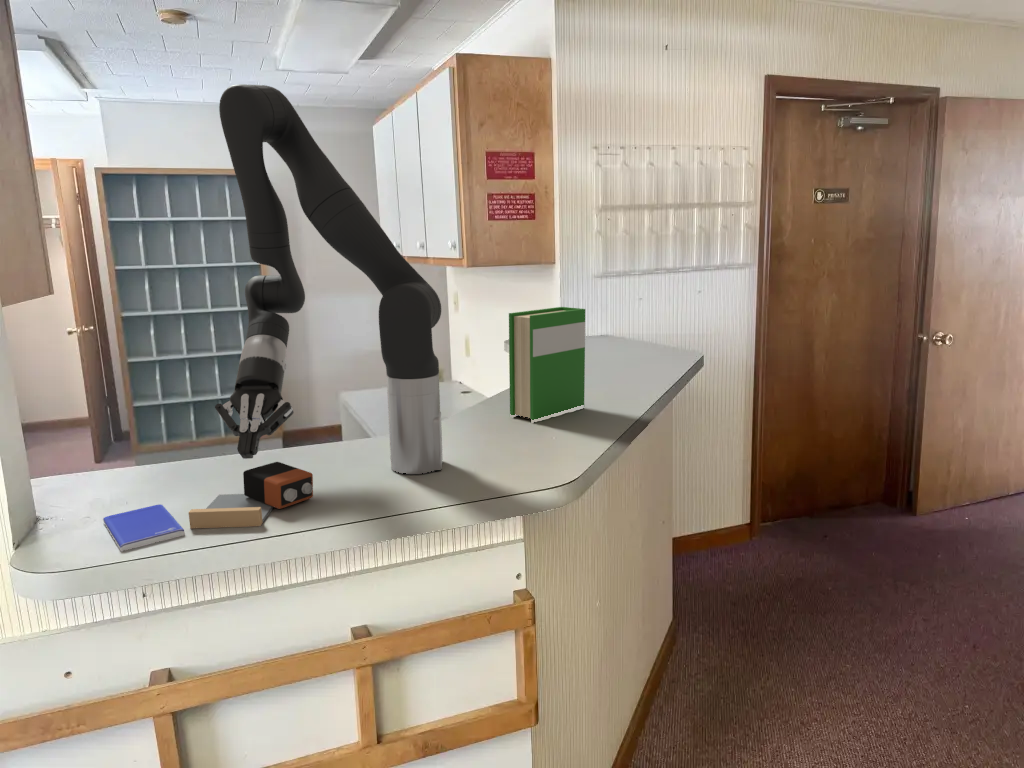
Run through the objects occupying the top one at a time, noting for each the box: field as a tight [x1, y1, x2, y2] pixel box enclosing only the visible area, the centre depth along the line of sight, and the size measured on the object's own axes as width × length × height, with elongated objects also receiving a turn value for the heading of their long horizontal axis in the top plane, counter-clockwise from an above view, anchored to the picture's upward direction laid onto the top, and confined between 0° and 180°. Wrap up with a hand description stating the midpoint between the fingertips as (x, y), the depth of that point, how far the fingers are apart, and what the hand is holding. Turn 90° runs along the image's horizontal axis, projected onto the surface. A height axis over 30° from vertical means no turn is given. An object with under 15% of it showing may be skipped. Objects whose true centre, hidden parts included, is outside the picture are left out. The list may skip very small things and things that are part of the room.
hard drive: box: [102, 504, 186, 552], centre depth 102 cm, size 2×8×12 cm
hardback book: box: [508, 306, 586, 420], centre depth 162 cm, size 18×7×24 cm, turn 135°
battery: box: [242, 461, 314, 510], centre depth 112 cm, size 4×7×10 cm
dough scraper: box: [188, 493, 274, 529], centre depth 108 cm, size 10×12×2 cm
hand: (246, 456), depth 113 cm, fingers closed
